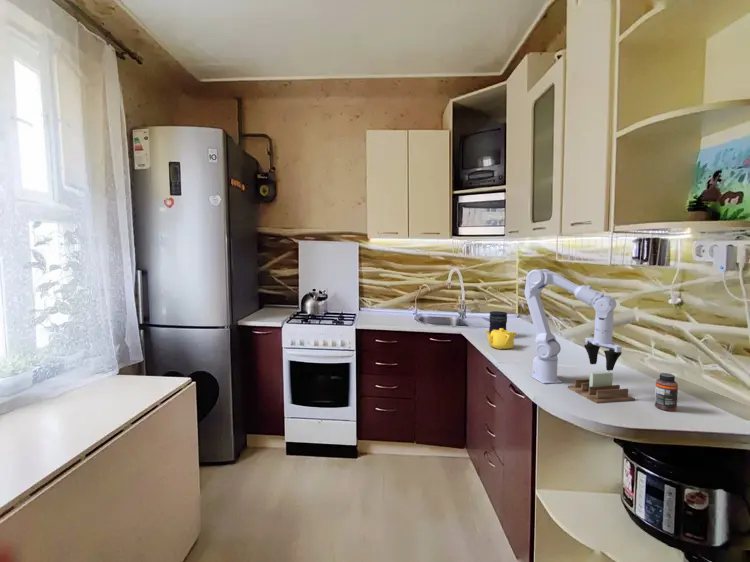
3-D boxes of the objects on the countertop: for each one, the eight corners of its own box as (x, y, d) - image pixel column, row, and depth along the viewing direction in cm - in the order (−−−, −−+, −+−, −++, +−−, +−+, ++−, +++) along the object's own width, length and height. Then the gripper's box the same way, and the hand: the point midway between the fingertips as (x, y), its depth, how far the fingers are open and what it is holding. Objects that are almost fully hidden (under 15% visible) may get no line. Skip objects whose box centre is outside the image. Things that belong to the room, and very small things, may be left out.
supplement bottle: (667, 404, 137) (669, 371, 136) (681, 411, 131) (683, 377, 130) (649, 404, 137) (652, 371, 136) (663, 411, 131) (665, 377, 130)
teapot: (508, 352, 204) (509, 332, 203) (483, 348, 211) (484, 329, 210) (516, 347, 215) (517, 328, 214) (492, 343, 222) (493, 325, 222)
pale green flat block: (588, 391, 146) (589, 372, 146) (608, 390, 148) (609, 371, 147) (592, 393, 145) (593, 374, 144) (611, 392, 146) (612, 372, 146)
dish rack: (567, 388, 152) (568, 378, 152) (603, 385, 155) (603, 376, 155) (596, 403, 138) (597, 392, 137) (634, 400, 140) (635, 390, 140)
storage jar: (507, 340, 231) (508, 314, 230) (490, 339, 232) (491, 313, 231) (504, 336, 241) (505, 311, 240) (487, 335, 242) (488, 311, 241)
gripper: (579, 326, 151) (577, 362, 153) (610, 334, 137) (608, 373, 139) (595, 325, 153) (592, 361, 154) (627, 333, 139) (625, 372, 140)
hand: (601, 367), depth 147 cm, fingers open, 7 cm apart
